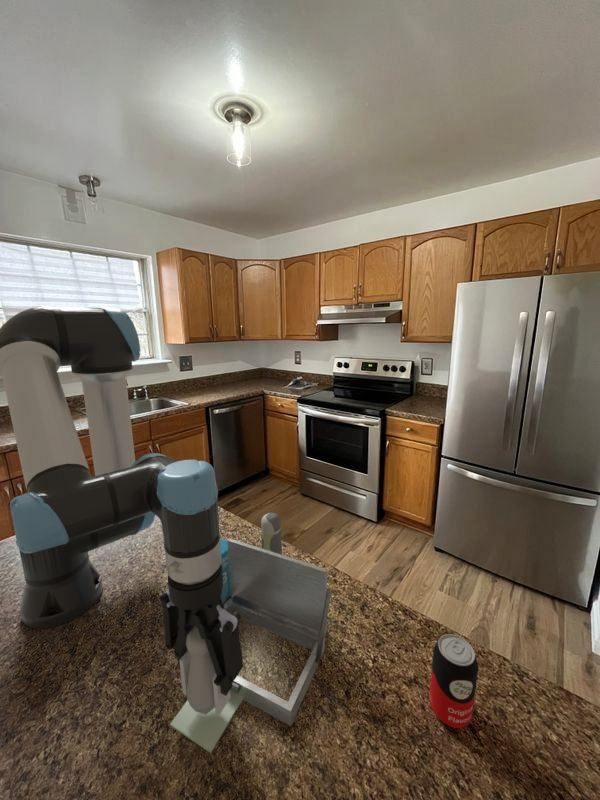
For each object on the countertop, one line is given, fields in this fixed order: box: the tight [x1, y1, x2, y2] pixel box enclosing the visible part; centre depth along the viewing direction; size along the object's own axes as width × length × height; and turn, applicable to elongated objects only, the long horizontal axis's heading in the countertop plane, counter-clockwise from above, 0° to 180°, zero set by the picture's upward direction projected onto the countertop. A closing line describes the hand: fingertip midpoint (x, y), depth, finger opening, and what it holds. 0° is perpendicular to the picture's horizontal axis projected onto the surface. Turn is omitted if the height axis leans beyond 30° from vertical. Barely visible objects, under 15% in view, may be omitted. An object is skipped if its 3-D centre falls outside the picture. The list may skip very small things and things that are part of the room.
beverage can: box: [428, 633, 479, 729], centre depth 53 cm, size 6×6×12 cm
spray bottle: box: [260, 512, 283, 555], centre depth 76 cm, size 5×5×20 cm
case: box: [224, 538, 332, 727], centre depth 61 cm, size 23×16×17 cm
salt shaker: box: [185, 626, 216, 714], centre depth 52 cm, size 6×6×13 cm
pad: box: [169, 691, 244, 754], centre depth 54 cm, size 8×8×1 cm
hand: (206, 695), depth 54 cm, fingers closed on salt shaker, 6 cm apart
